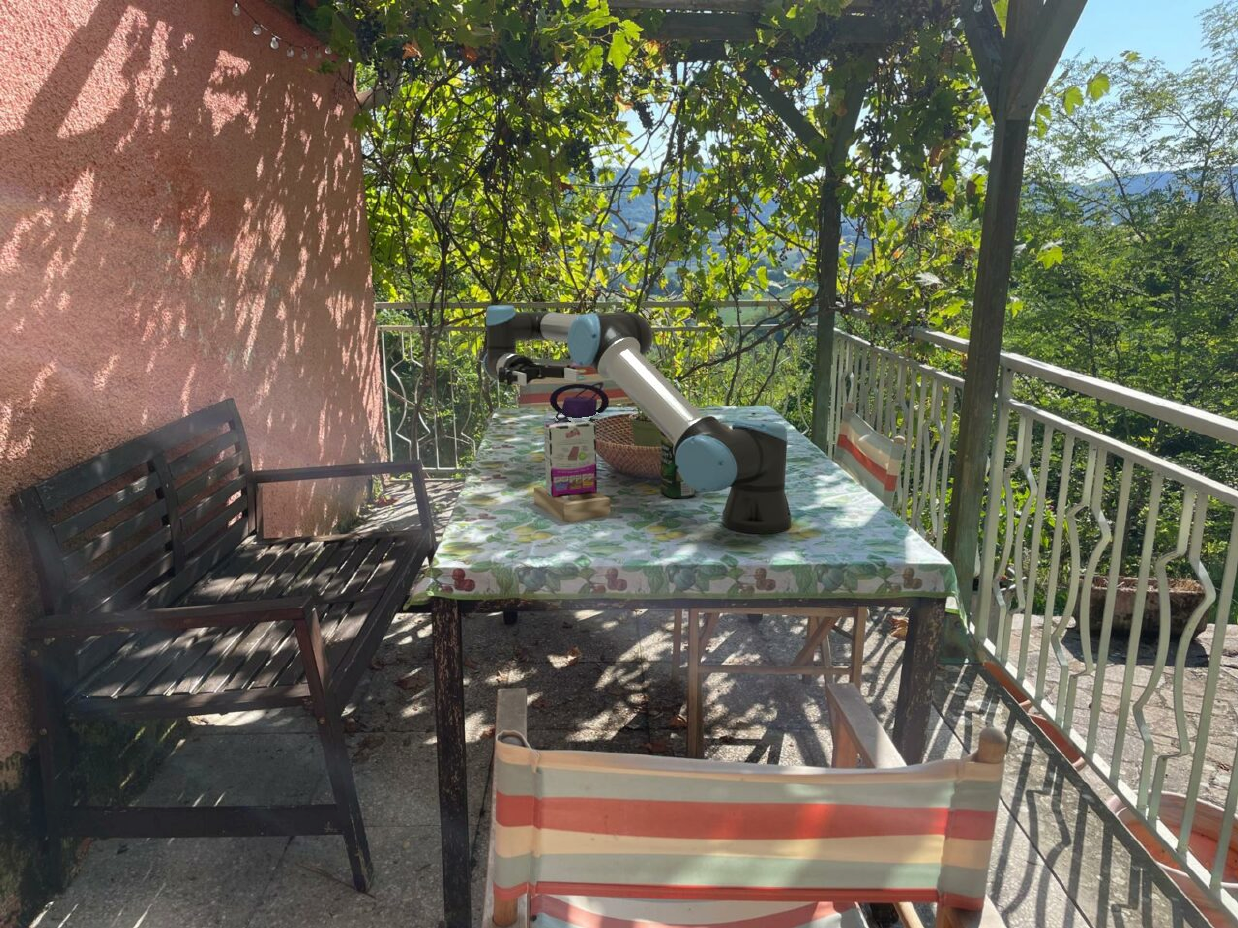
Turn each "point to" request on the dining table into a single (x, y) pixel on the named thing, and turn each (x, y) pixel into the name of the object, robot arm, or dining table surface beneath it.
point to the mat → (561, 522)
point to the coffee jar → (671, 473)
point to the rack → (573, 505)
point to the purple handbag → (579, 400)
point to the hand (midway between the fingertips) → (551, 378)
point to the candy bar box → (570, 458)
